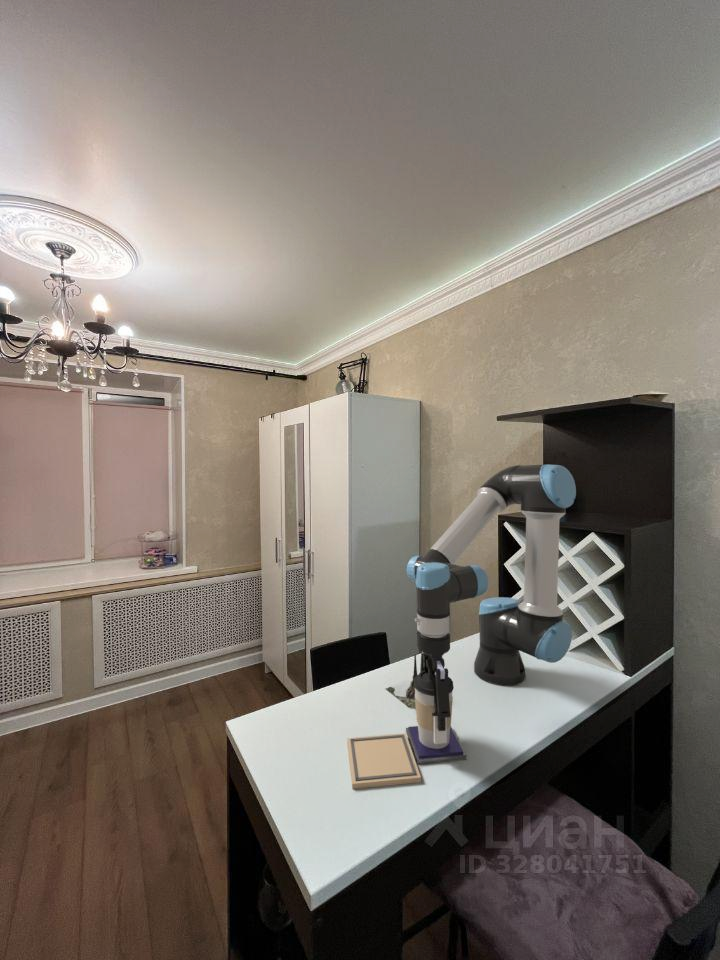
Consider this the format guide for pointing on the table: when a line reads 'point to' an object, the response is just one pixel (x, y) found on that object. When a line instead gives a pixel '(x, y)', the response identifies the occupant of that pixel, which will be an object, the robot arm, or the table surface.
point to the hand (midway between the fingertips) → (434, 728)
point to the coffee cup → (429, 709)
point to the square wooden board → (381, 761)
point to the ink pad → (435, 755)
